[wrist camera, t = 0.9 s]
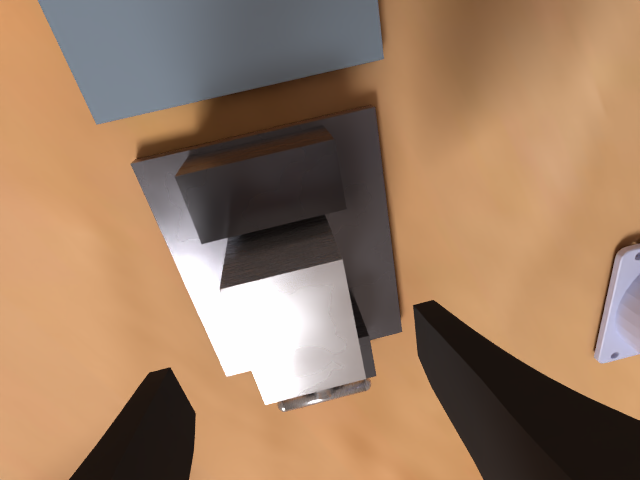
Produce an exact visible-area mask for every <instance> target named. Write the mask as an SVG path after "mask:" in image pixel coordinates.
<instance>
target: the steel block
mask: <svg viewBox="0 0 640 480" xmlns="http://www.w3.org/2000/svg"><path fill="white" fill-rule="evenodd" d="M219 290H220V293H221V295H222V298H223V300H224V303H225V305H226V308H227V310H228V313H229V315H230V318H231V320H232V323H233V325H234V328H235V330H236V333H237V335H238V338H239V340H240V343H241V345H242V348H243V350H244V353H245V355H246V358H247V360H248V363H249V365H250V368H251V370H252V373H253V375H254V378H255V380H256V382H257V385H258V387H259V390H260V392H261V395H262V397H263V400H264V402H265V405H267V404H271V403H275V402H279V401H283V400H286V399H290V398H294V397H298V396H302V395H306V394H310V393H314V392H317V391H321V390H325V389H329V388H333V387H337V386H341V385H344V384H348V383H352V382H356V381H360V380H364V379H366V376H365V371H364V366H363V361H362V355H361V350H360V345H359V340H358V335H357V330H356V325H355V320H354V315H353V310H352V305H351V299H350V294H349V289H348V284H347V279H346V274H345V269H344V264H343V259H342V256H341V254H340V251H339V249H338V246H337V244H336V241H335V239H334V236H333V234H332V231H331V228H330V226H329V223H328V221H327V218H326V216H325V215H321V216H317V217H312V218H308V219H304V220H300V221H296V222H292V223H288V224H283V225H279V226H275V227H271V228H267V229H263V230H259V231H254V232H250V233H246V234H242V235H238V236H234V237H230V238H228V240H227V246H226V252H225V258H224V264H223V270H222V276H221V282H220V288H219Z"/></svg>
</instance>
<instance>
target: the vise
mask: <svg viewBox="0 0 640 480" xmlns="http://www.w3.org/2000/svg"><path fill="white" fill-rule="evenodd" d="M131 166H132V168H133V170H134V172H135V175H136V177H137V179H138V181H139V184H140V186H141V188H142V190H143V192H144V195H145V197H146V199H147V201H148V203H149V206H150V208H151V210H152V212H153V214H154V217H155V219H156V221H157V223H158V226H159V228H160V230H161V232H162V234H163V237H164V239H165V241H166V243H167V245H168V248H169V250H170V252H171V254H172V256H173V259H174V261H175V263H176V265H177V268H178V270H179V272H180V274H181V276H182V279H183V281H184V283H185V285H186V287H187V290H188V292H189V294H190V296H191V298H192V301H193V303H194V305H195V307H196V310H197V312H198V314H199V316H200V318H201V321H202V323H203V325H204V327H205V329H206V332H207V334H208V336H209V338H210V340H211V343H212V345H213V347H214V349H215V352H216V354H217V356H218V358H219V360H220V363H221V365H222V367H223V369H224V371H225V374H226V376H231V375H235V374H239V373H243V372H247V371H251V368H250V365H249V363H248V360H247V358H246V355H245V353H244V350H243V348H242V345H241V343H240V340H239V338H238V335H237V333H236V330H235V328H234V325H233V323H232V320H231V318H230V315H229V313H228V310H227V308H226V305H225V303H224V300H223V298H222V295H221V293H220V290H219V288H220V282H221V276H222V270H223V264H224V258H225V252H226V246H227V240H228V238H230V237H234V236H238V235H242V234H246V233H250V232H254V231H259V230H263V229H267V228H271V227H275V226H279V225H283V224H288V223H292V222H296V221H300V220H304V219H308V218H312V217H317V216H321V215H325V216H326V218H327V221H328V223H329V226H330V228H331V231H332V234H333V236H334V239H335V241H336V244H337V246H338V249H339V251H340V254H341V256H342V259H343V264H344V269H345V274H346V279H347V284H348V289H349V294H350V299H351V305H352V310H353V315H354V320H355V325H356V330H357V335H358V340H359V345H360V350H361V355H362V361H363V366H364V371H365V376H366V379H364V380H360V381H356V382H352V383H348V384H344V385H341V386H337V387H333V388H329V389H325V390H321V391H317V392H314V393H310V394H306V395H302V396H298V397H294V398H290V399H286V400H283V401H279V402H278V404H277V405H278V408H279V410H280V411H282V412H287V411H290V410H294V409H298V408H302V407H306V406H310V405H313V404H317V403H321V402H325V401H329V400H333V399H337V398H340V397H344V396H348V395H352V394H356V393H360V392H364V391H367V390H369V389H370V387H371V381H370V379H369V378H370V377H374V376H376V371H375V366H374V360H373V354H372V349H371V343H370V340H372V339H376V338H380V337H384V336H388V335H392V334H396V333H400V332H402V327H401V319H400V310H399V302H398V294H397V285H396V277H395V269H394V260H393V252H392V243H391V235H390V227H389V218H388V210H387V202H386V193H385V185H384V177H383V168H382V160H381V151H380V143H379V135H378V126H377V118H376V110H375V107H374V106H372V105H368V106H364V107H359V108H355V109H351V110H346V111H342V112H338V113H334V114H329V115H325V116H321V117H316V118H312V119H308V120H303V121H299V122H295V123H290V124H286V125H282V126H278V127H273V128H269V129H265V130H260V131H256V132H252V133H247V134H243V135H239V136H234V137H230V138H226V139H221V140H217V141H213V142H209V143H204V144H200V145H196V146H191V147H187V148H183V149H178V150H174V151H170V152H165V153H161V154H157V155H153V156H148V157H144V158H140V159H135V160H134V161H133V162H132V163H131Z"/></svg>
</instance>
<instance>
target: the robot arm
mask: <svg viewBox="0 0 640 480" xmlns="http://www.w3.org/2000/svg"><path fill="white" fill-rule="evenodd" d="M413 309H414V319H415V330H416V340H417V351H418V357H419V359H420V361H421V364H422V366H423V369H424V371H425V373H426V375H427V378H428V380H429V382H430V385H431V387H432V389H433V390H434V392H435V394H436V396H437V398H438V399H439V401H440V403H441V405H442V406H443V408H444V410H445V412H446V413H447V415H448V417H449V419H450V420H451V422H452V424H453V426H454V427H455V429H456V431H457V432H458V434H459V436H460V438H461V439H462V441H463V443H464V445H465V446H466V448H467V450H468V452H469V453H470V455H471V457H472V459H473V460H474V462H475V464H476V466H477V468H478V470H479V472H480V474H481V476H482V477H483V480H640V420H637V419H635V418H632V417H630V416H628V415H626V414H623V413H621V412H619V411H617V410H615V409H612V408H610V407H608V406H606V405H603V404H601V403H599V402H597V401H595V400H592V399H590V398H588V397H586V396H584V395H582V394H580V393H578V392H576V391H574V390H572V389H570V388H568V387H566V386H564V385H562V384H561V383H559V382H557V381H555V380H553V379H551V378H549V377H547V376H546V375H544V374H542V373H540V372H539V371H537V370H535V369H533V368H532V367H530V366H528V365H527V364H525V363H523V362H522V361H520V360H518V359H517V358H515V357H514V356H512V355H510V354H509V353H507V352H506V351H504V350H503V349H501V348H500V347H498V346H497V345H495V344H494V343H492V342H491V341H489V340H488V339H486V338H485V337H483V336H482V335H480V334H479V333H478V332H476V331H475V330H473V329H472V328H470V327H469V326H468V325H466V324H465V323H464V322H462V321H461V320H460V319H458V318H457V317H456V316H454V315H453V314H452V313H450V312H449V311H448V310H446V309H445V308H444V307H442V306H441V305H440V304H438V303H437V302H435V301H434V300H432V301H428V302H424V303H420V304H416V305H413ZM638 354H640V243H639V244H635V245H631V246H627V247H624V248H622V249H621V250H619V251H618V253H617V254H616V257H615V261H614V266H613V271H612V275H611V280H610V284H609V289H608V294H607V298H606V303H605V308H604V312H603V317H602V321H601V326H600V331H599V335H598V340H597V345H596V349H595V354H594V358H595V359H596V360H597V361H598V362H599V363H607V362H611V361H615V360H619V359H622V358H626V357H630V356H634V355H638ZM195 417H196V413H195V411H194V410H193V408H192V406H191V404H190V402H189V401H188V399H187V397H186V395H185V393H184V391H183V390H182V388H181V386H180V384H179V382H178V380H177V379H176V377H175V375H174V373H173V371H172V370H171V368H166V369H162V370H158V371H154V372H150V373H149V374H148V375H147V376H146V378H145V379H144V380H143V382H142V383H141V384H140V386H139V387H138V388H137V390H136V391H135V393H134V394H133V395H132V397H131V398H130V400H129V401H128V402H127V404H126V405H125V407H124V408H123V409H122V411H121V412H120V414H119V415H118V416H117V418H116V419H115V420H114V422H113V423H112V425H111V426H110V427H109V429H108V430H107V431H106V433H105V434H104V435H103V437H102V438H101V439H100V441H99V442H98V444H97V445H96V446H95V447H94V449H93V450H92V451H91V453H90V454H89V455H88V456H87V458H86V459H85V460H84V461H83V463H82V464H81V465H80V466H79V468H78V469H77V470H76V472H75V473H74V474H73V475H72V477H71V478H70V479H69V480H189V476H190V470H191V464H192V458H193V452H194V439H195Z"/></svg>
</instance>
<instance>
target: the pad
mask: <svg viewBox="0 0 640 480" xmlns="http://www.w3.org/2000/svg"><path fill="white" fill-rule="evenodd" d="M38 2H39V4H40V6H41V8H42V10H43V12H44V14H45V17H46V19H47V21H48V23H49V25H50V27H51V29H52V31H53V34H54V36H55V38H56V40H57V42H58V44H59V46H60V48H61V50H62V53H63V55H64V57H65V59H66V61H67V63H68V65H69V67H70V69H71V72H72V74H73V76H74V78H75V80H76V82H77V84H78V86H79V88H80V91H81V93H82V95H83V97H84V99H85V101H86V103H87V105H88V108H89V110H90V112H91V114H92V116H93V118H94V120H95V122H96V124H101V123H106V122H110V121H114V120H119V119H123V118H128V117H132V116H136V115H141V114H145V113H150V112H154V111H158V110H163V109H167V108H171V107H176V106H180V105H185V104H189V103H193V102H198V101H202V100H207V99H211V98H215V97H220V96H224V95H229V94H233V93H237V92H242V91H246V90H250V89H255V88H259V87H264V86H268V85H272V84H277V83H281V82H286V81H290V80H294V79H299V78H303V77H308V76H312V75H316V74H321V73H325V72H329V71H334V70H338V69H343V68H347V67H351V66H356V65H360V64H365V63H369V62H373V61H378V60H382V59H384V56H383V46H382V36H381V27H380V17H379V7H378V0H38Z"/></svg>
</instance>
